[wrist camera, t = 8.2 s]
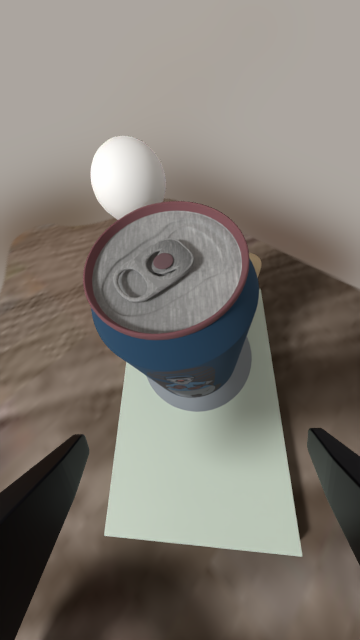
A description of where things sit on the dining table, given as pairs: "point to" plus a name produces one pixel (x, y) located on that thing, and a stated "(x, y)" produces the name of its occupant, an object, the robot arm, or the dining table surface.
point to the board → (206, 460)
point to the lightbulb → (127, 176)
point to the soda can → (174, 294)
